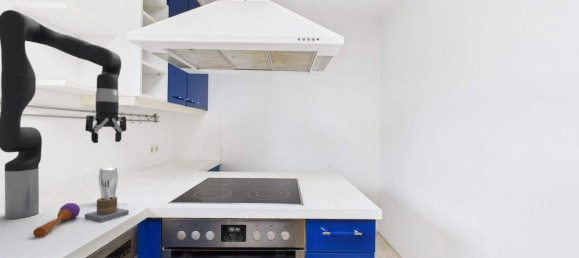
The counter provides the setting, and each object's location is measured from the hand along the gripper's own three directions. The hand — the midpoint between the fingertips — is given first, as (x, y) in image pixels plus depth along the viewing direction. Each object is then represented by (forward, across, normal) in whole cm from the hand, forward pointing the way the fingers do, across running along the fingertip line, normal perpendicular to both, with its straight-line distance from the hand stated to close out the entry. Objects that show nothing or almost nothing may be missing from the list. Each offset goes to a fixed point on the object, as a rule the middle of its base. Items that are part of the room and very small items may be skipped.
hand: (106, 142), depth 109 cm
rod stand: (+27, +3, +6) cm, 28 cm away
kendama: (+28, +16, +2) cm, 32 cm away
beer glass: (+28, -8, -11) cm, 31 cm away
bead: (+26, +3, +6) cm, 27 cm away
